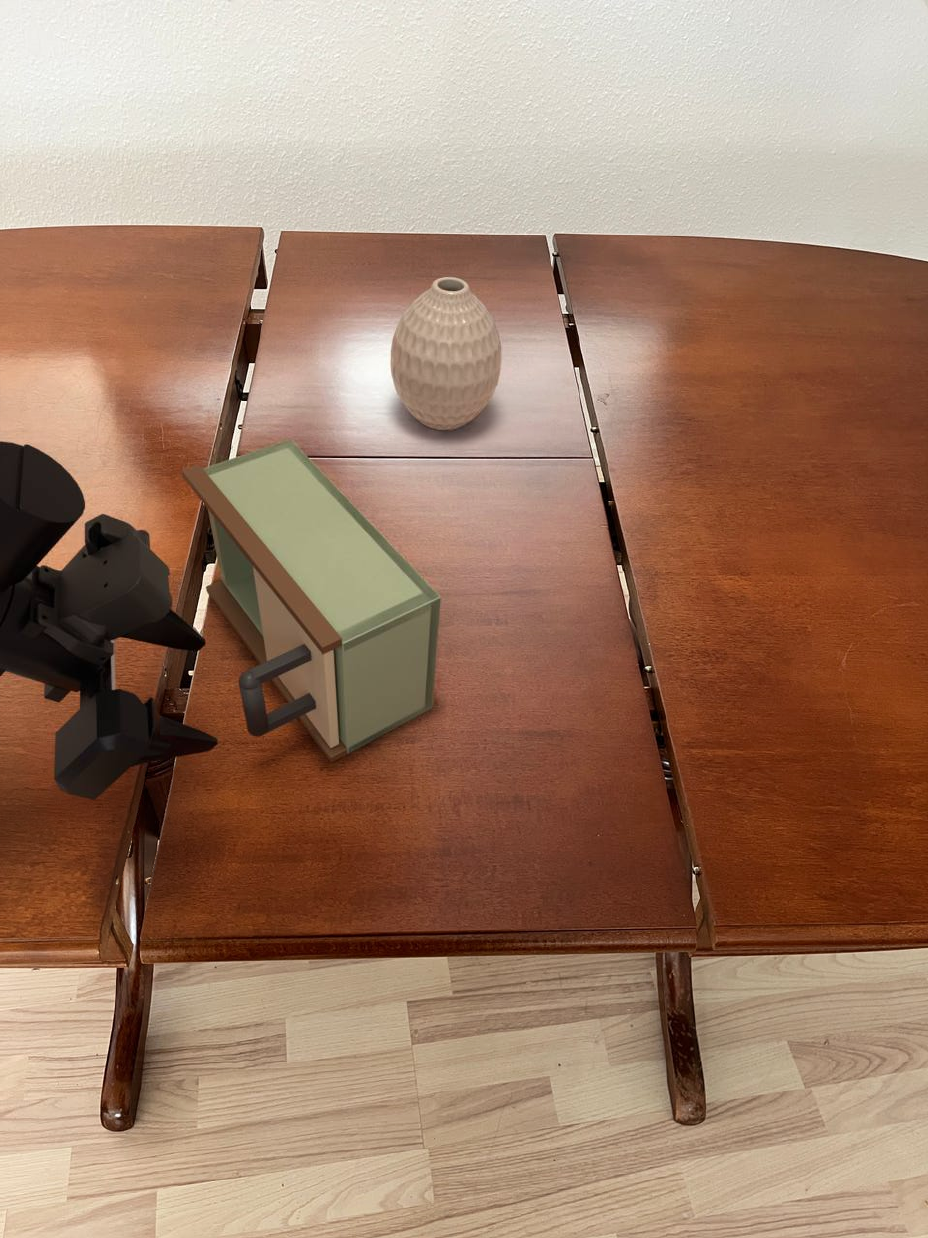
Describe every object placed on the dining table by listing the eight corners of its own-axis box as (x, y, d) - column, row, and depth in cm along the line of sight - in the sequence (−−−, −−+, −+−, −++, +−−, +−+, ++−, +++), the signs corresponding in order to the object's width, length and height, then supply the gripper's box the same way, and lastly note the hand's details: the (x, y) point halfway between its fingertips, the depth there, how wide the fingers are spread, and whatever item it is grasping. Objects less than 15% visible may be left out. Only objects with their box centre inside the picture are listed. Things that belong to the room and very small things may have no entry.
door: (268, 781, 67) (251, 684, 58) (207, 688, 73) (182, 586, 64) (339, 744, 70) (333, 645, 61) (274, 657, 76) (260, 555, 67)
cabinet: (330, 763, 70) (322, 647, 59) (206, 592, 82) (180, 469, 71) (432, 708, 75) (441, 591, 64) (301, 553, 87) (290, 432, 76)
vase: (486, 454, 100) (501, 321, 88) (378, 437, 101) (378, 303, 88) (501, 395, 109) (516, 266, 96) (402, 379, 109) (405, 250, 97)
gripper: (61, 652, 42) (302, 737, 53) (66, 432, 54) (262, 537, 65) (-54, 772, 46) (192, 828, 57) (-26, 542, 58) (173, 624, 69)
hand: (207, 693), depth 62 cm, fingers open, 9 cm apart
